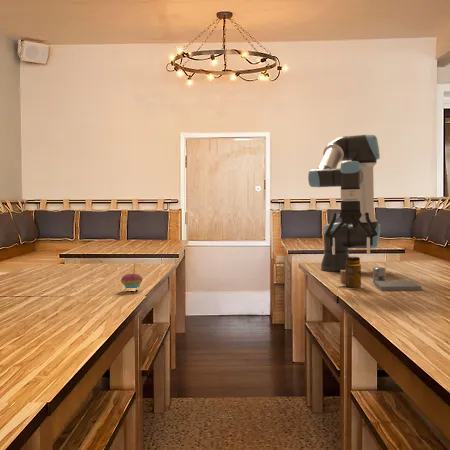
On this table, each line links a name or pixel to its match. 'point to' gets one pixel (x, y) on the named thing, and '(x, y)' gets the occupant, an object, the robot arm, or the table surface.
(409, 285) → the board
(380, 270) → the metal canister
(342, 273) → the walnut block
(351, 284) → the condiment
